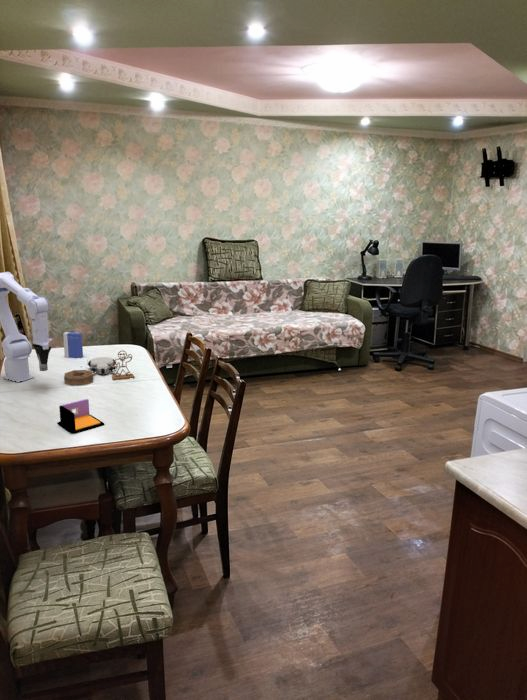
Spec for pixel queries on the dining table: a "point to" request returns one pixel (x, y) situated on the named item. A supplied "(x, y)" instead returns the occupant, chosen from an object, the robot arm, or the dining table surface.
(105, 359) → the robot toy
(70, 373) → the walnut bead
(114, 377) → the cartoon figure standee
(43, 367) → the metal cylinder
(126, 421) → the dining table surface
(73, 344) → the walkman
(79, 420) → the dollhouse room
